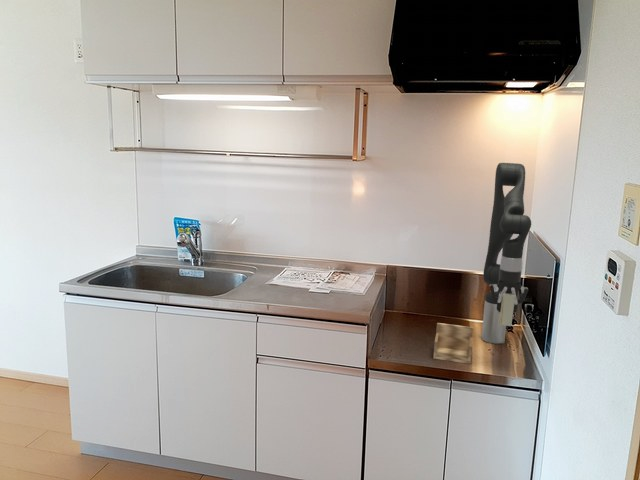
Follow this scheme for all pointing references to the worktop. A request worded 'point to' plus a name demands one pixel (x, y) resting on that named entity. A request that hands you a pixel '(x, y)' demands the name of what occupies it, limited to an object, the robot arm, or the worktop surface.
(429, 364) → the worktop surface
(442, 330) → the caddy
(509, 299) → the skincare box
